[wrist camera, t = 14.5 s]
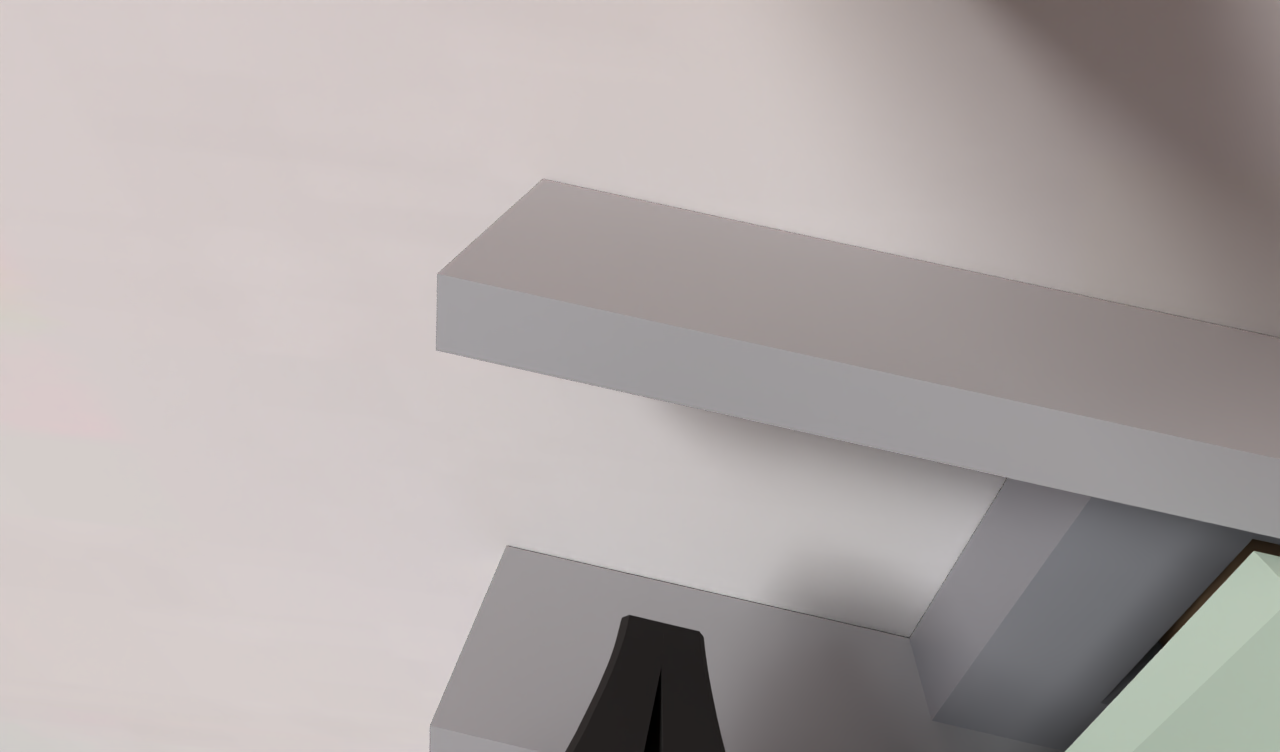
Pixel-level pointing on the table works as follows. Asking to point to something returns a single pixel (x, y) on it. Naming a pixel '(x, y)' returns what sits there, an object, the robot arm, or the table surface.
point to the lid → (1207, 678)
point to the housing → (883, 419)
